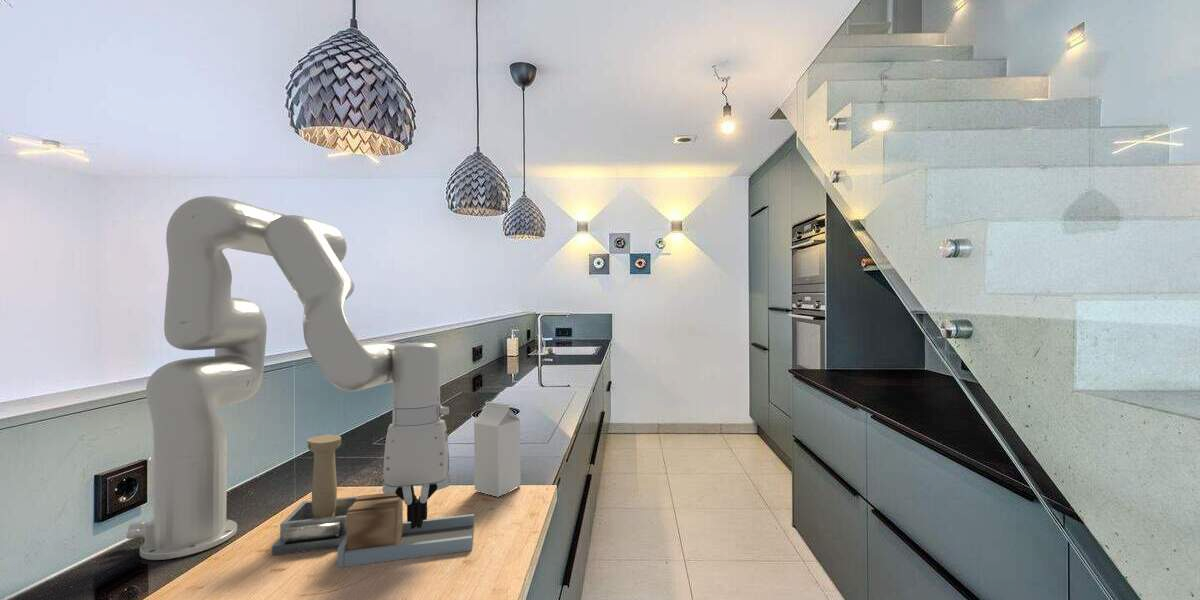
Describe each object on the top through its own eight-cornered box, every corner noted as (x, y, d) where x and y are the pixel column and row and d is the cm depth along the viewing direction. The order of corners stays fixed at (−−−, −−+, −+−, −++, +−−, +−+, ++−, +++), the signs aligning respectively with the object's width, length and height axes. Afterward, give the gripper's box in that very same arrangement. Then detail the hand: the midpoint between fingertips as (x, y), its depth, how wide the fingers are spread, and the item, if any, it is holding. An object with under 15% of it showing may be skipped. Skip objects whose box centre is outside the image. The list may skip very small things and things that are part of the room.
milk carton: (498, 498, 97) (497, 407, 97) (474, 492, 101) (473, 404, 101) (521, 487, 103) (520, 401, 103) (497, 481, 107) (497, 398, 107)
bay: (337, 567, 71) (337, 547, 71) (355, 538, 80) (355, 521, 80) (472, 550, 76) (472, 531, 76) (474, 524, 85) (474, 508, 85)
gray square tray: (272, 555, 75) (272, 530, 75) (301, 523, 87) (301, 501, 87) (346, 546, 77) (346, 522, 78) (365, 516, 89) (365, 495, 89)
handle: (317, 532, 79) (318, 444, 80) (301, 523, 83) (302, 439, 84) (346, 522, 83) (346, 438, 84) (330, 513, 87) (330, 433, 88)
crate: (346, 558, 72) (346, 511, 73) (358, 537, 79) (358, 494, 79) (394, 552, 74) (394, 506, 74) (402, 532, 81) (402, 490, 81)
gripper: (463, 408, 84) (464, 510, 84) (374, 413, 81) (374, 520, 80) (461, 417, 77) (462, 529, 76) (362, 423, 73) (363, 541, 73)
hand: (417, 524), depth 78 cm, fingers closed
